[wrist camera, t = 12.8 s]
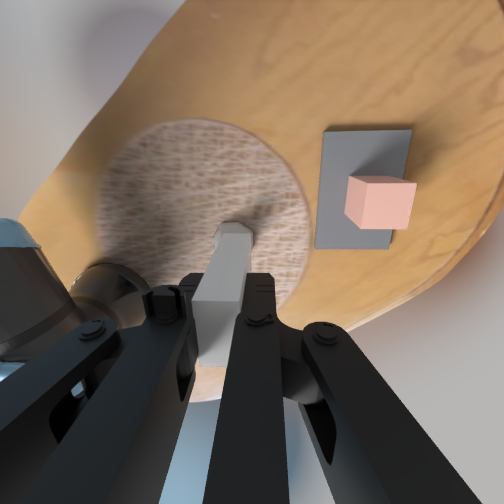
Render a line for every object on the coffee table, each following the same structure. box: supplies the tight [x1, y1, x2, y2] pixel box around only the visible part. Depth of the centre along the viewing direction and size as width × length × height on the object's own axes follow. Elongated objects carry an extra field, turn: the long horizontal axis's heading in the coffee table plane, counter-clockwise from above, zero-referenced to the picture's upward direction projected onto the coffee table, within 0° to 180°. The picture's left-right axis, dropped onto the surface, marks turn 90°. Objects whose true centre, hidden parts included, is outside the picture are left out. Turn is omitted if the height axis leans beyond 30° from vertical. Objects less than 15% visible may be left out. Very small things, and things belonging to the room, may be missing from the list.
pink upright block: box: [344, 176, 417, 229], centre depth 36 cm, size 6×6×8 cm
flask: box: [213, 222, 254, 250], centre depth 41 cm, size 7×7×10 cm
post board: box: [314, 130, 412, 249], centre depth 38 cm, size 12×18×6 cm, turn 1°
